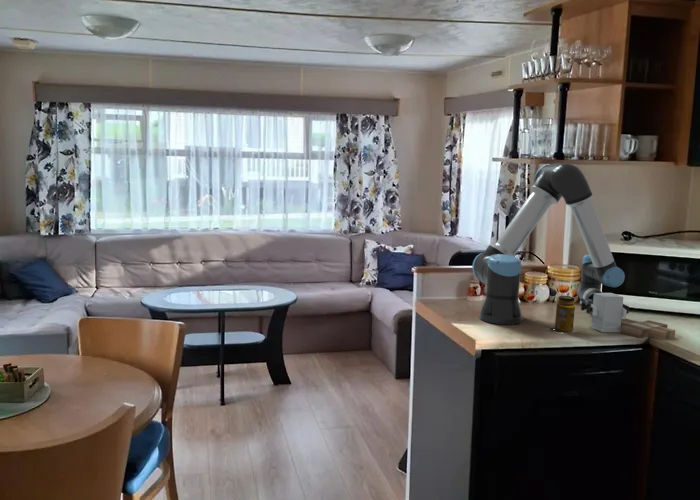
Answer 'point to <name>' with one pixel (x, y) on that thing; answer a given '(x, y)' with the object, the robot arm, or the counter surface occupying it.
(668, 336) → the cross stand
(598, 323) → the supplement box
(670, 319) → the counter surface
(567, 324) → the condiment
